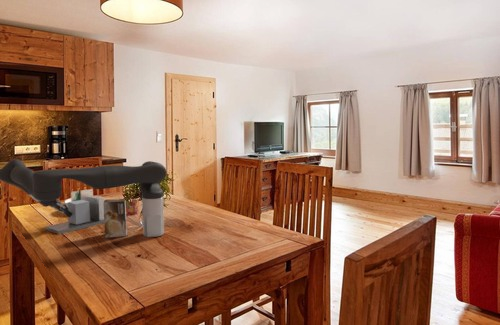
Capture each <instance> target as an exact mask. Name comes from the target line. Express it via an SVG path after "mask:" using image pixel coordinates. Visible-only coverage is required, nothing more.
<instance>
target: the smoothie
mask: <svg viewBox="0 0 500 325" xmlns="http://www.w3.org/2000/svg"><path fill="white" fill-rule="evenodd" d="M139 202H140V200H139V201H138V200H133V201H132V202H131V200H130V202H126V215H129V216H134V215H137V214H138V212H139V204H140V203H139Z"/></svg>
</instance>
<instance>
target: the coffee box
mask: <svg viewBox="0 0 500 325" xmlns="http://www.w3.org/2000/svg"><path fill="white" fill-rule="evenodd" d="M127 223H128V222H127V213H126V200H125V199H124V198H115V199H114V198H113V199H112V198H110V199H109V198H108V199H105V200H104V223H103V224H104V238H105V239H106V238H107V239H109V238H117V237H127V234H128V229H127Z"/></svg>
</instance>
